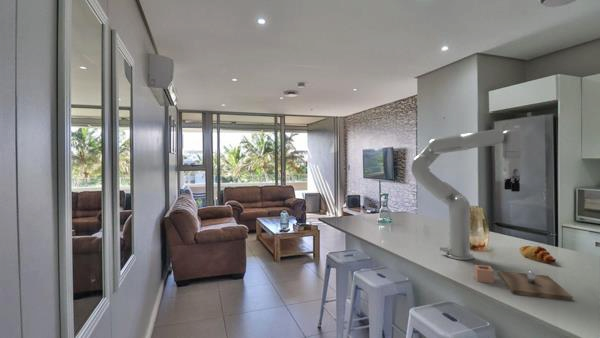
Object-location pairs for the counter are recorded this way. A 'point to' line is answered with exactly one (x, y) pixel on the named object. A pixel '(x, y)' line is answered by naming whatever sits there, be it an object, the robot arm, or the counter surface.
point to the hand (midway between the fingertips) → (511, 190)
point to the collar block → (484, 273)
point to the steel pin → (531, 277)
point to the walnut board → (534, 286)
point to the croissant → (537, 254)
